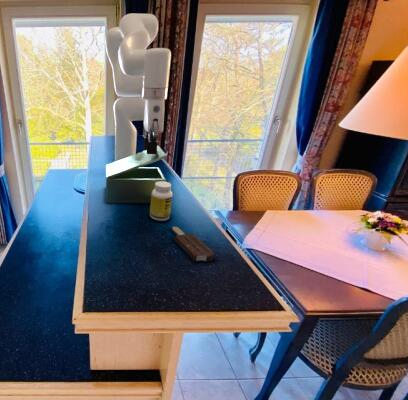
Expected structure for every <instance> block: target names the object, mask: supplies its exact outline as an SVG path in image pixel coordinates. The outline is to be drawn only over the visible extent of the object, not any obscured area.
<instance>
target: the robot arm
mask: <svg viewBox="0 0 408 400" xmlns="http://www.w3.org/2000/svg"><path fill="white" fill-rule="evenodd" d="M158 32H159V20H158V18H157V16H156V15H155V14H153V13H137V12H136V13H134V12H133V13H127V14H125V15H123V16H122V17H121V19H120V20H119V23H118V26H115V27H114V26H113V27H111V28H109V30H107V32H106V34H105V49H106V54H107V57H108V61H109V63H110V66H111V68H112V78H113V85H114V92H115V94H116V96H118V97H119V98H118V99H116V100H115V101H114V103H113V117H114V162H116V161H119V160H121V159H124V158H127V157H129V156H132V155H135V154H137V140H138V139H137V137H138V131H137V128H136V127H135V125H134V124H133V122H134V121H143V128H144V130H145V131H144V139H143V141H144V142H143V149H144V150H147V154H156V153H157V146H158V142H159V141H158V139H159V133H161V134H162V133H163V132H164V122H165V101H166V100H167V99H168V90H169V81H170V70H171V60H172V51H171V50H170V49H169V48H166V47H153V48H149V49H147V48H148V46H149V45H150V44H151V43H152V42H154V40H155V38H156V37H157V35H158Z"/></svg>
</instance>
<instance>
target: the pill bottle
mask: <svg viewBox="0 0 408 400" xmlns="http://www.w3.org/2000/svg"><path fill="white" fill-rule="evenodd" d="M171 189H172V184H171V182H167V181H166V182H164V181H159V182H156V183H155V189H154V190H153V191H152V195H151V203H150V206H149V217H150V218H151V219H153V220H155V221H160V222H164V221H165V222H166V221H167V220H169V219H170V217H171V210H172V202H173V195H174V194H173V191H172V190H171Z"/></svg>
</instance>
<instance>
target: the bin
mask: <svg viewBox="0 0 408 400" xmlns="http://www.w3.org/2000/svg"><path fill="white" fill-rule="evenodd" d="M159 181H164V182H167V180H166V178H165V175H164V174H163V173H162V171H161V169H160V168H159V167H139V168H136V169H134V170H131V171H128V172H125V173H123V174H120V175H117V176H114V177H112V178H109V179H107V178H106V177H105V203H106V204H151V195H152V191H153V190H154V189H155V183H156V182H159Z"/></svg>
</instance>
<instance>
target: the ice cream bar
mask: <svg viewBox="0 0 408 400" xmlns="http://www.w3.org/2000/svg"><path fill="white" fill-rule="evenodd" d="M171 229H172V231H173V232H174V233H175V234H176V235H174V238H173V240H174V242H175V243H176V244H177V245H178V246H179V247H180V248H181V249H182V250H183V251H184V252H185V253H186V254H187V256H189V257H190V258H191V260H192V261H193V262H200V261H202V262H205V263H208V262H211V261H213V260H214V259H215V252H214V251H213V250H212V249H211V248H210V247H209V246H208V245H207V244H206V243H204V242H203V241H202V240H201V239H200V238H199V237H198V236H196V234H195V233H193V232H189V233H184V231H182V230H181V229H180V228H179V227H178V226H172V228H171Z"/></svg>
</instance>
